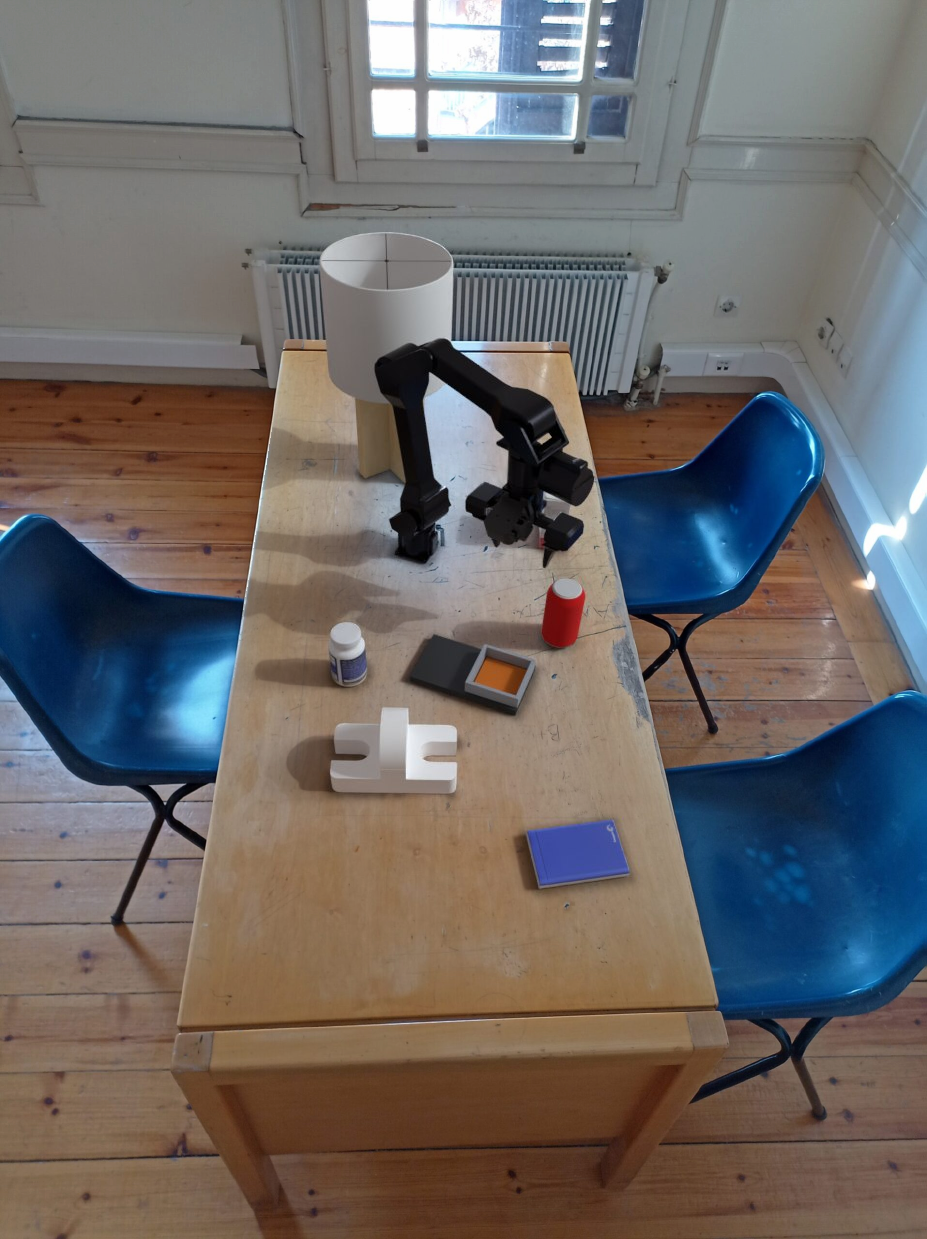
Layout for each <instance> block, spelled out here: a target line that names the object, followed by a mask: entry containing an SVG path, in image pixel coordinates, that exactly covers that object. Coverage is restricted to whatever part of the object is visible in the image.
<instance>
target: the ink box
mask: <svg viewBox="0 0 927 1239" xmlns="http://www.w3.org/2000/svg"><path fill="white" fill-rule="evenodd" d="M543 500H546V501H547V505H546V507H545V508H544V509H543V510H542V513H544V514H546V515H549V516H551V517H554V518H556V517H557V516H558V515H559V514H560V513H561V512H563V513H565V514H568V515H571V514H570V513H571V507H572V505H571V504H569V503H567V502H565V501H563V500H561V499H558V498H556V497H554V496H552V495H550V494H548V493H546V492H544V495H543ZM538 530H539V531H538V548H539V550H540V549H541V550H542V549H543V550H544V549H545V547H544V546H542V544H543V543H544V542H545V541H544V533H545V531H546V530H545V529H543V528H540V527H538Z"/></svg>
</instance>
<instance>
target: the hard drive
mask: <svg viewBox="0 0 927 1239" xmlns="http://www.w3.org/2000/svg"><path fill="white" fill-rule="evenodd" d="M525 833H526V834H525V836H526V841H527V845H528V849H529V854H530V858H531V861H532V865H533V870H534V874H535V878H536V882H537V886H538V889H539V890H540V889H547V888H553V887H555V888H556V887H561V886H569V885H575V884H577V885H578V884H583V883H590V882H597V881H604V880H611V879H618V878H625V877H629V876H630V873H631V872H630V867H629V864H628V862H627V858H626V855H625V853H624V849H623V846H622V842H621V839H620V836H619V833H618V831H617V826H616V825H615V821H614V819H613V818H612V819H605V820H597V821H590V822H583V823H576V824H568V825H561V826H554V827H546V828H538V829H530V830H526V832H525Z"/></svg>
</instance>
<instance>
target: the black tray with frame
mask: <svg viewBox="0 0 927 1239" xmlns="http://www.w3.org/2000/svg"><path fill="white" fill-rule="evenodd" d="M535 671H536V659H535V658H531V657H528V656H526V655H521V654H518V653H516V652H513V651H510V650H509V651H508V650H505V649H502V648H500V647H497V646H493V645H489V644H486V643H484V644H483V646H482V647H481V648H479V647H477V646H473V645H470V644H468V643H467V644H466V643H463V642H459V641H457V640H453V639H451V638H448V637H445V636H441V635H438V634H434V633H433V634H432V635H431V638H430V639H429V642H427V645H426V646H425V649H424V650H423V652H422V654H421V656H420V657H419V659H418V661H417V663H416V664H415V666H414V668H413V670H412V671H411V673H410V675H409V682H412V683H414V684H417V685H421V686H424V687H426V688H431V689H433V690H436V691H438V692H441V693H445V694H448V695H450V696H454V697H457V698H461V699H464V700H466V701H470V702H473V703H475V704H479V705H482V706H485V707H488V708H491V709H494V710H497V711H499V712H503V713H505V714H506V713H507V714H508V715H512V716H516V715H517V713H518V711H519V709H520V706H521V704H522V701H523V699H524V698H525V694H526V692H527V690H528V688H529V685H530V683H531V681H532V678H533V676H534V674H535Z"/></svg>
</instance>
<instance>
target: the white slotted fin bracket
mask: <svg viewBox="0 0 927 1239" xmlns="http://www.w3.org/2000/svg"><path fill="white" fill-rule="evenodd" d="M409 719H410V718H409V707H393V706H391V707H389V706H388V707H387V706H383V707H382V708H381V714H380V723H355V722H354V723H352V722H351V723H350V722H342V723H338V725H336V726H335V728H334V736H333V743H334V744H333V745H334V753H335V754H336V755H362V756H364V757H365V756H366V757H365V758H363V759H360V760H337V759H336V760H335V759H334V760H333V759H331V760H330V767H329V768H330V769H329V774H330V781H331V788H332V790H333V791H334V792H336V793H365V794H366V793H368V794H369V793H371V794H425V795H427V794H428V795H429V794H430V795H431V794H432V795H433V794H435V795H437V794H438V795H440V794H441V795H447V794H448V795H450V794H453V793H454V792H455V791H456V789H457V781H458V778H457V777H458V762H455V761H454V762H453V761H452V762H450V761H428V760H426V759H425V758H426V757H430V756H439V757H440V756H443V757H444V756H445V757H446V756H447V757H450V756H451V757H456V756H457V746H458V730H457V728H456V727H455V726H454V725H452V724H451V725H450V724H413V723H411V724H410V721H409Z"/></svg>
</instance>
